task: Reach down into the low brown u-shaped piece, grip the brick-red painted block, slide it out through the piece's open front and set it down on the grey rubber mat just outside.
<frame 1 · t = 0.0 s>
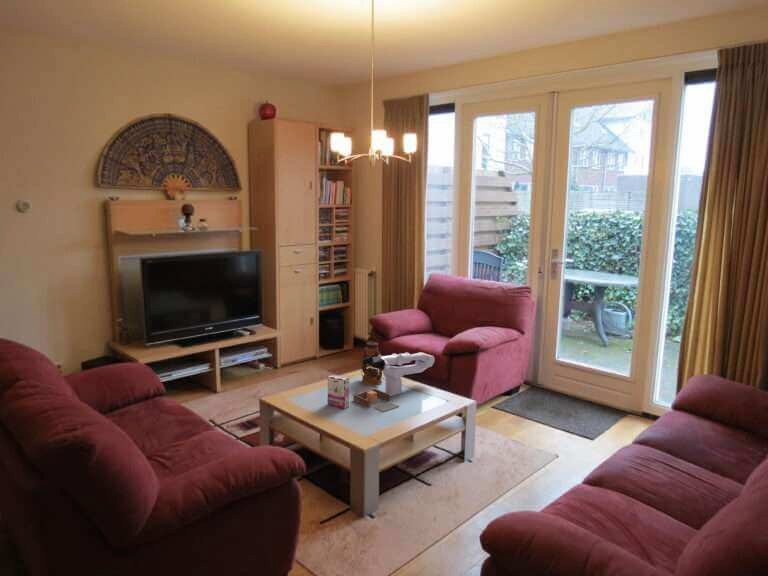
hand: (367, 363, 301), 22 cm above the table, tool horizontal, fingers open, 7 cm apart
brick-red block: (371, 396, 304), in the brown u-shaped piece
candy bar box: (338, 406, 296), on the table
grey mat: (386, 407, 295), on the table
lantern: (371, 382, 334), on the table
brown u-shaped piece: (371, 400, 304), on the table
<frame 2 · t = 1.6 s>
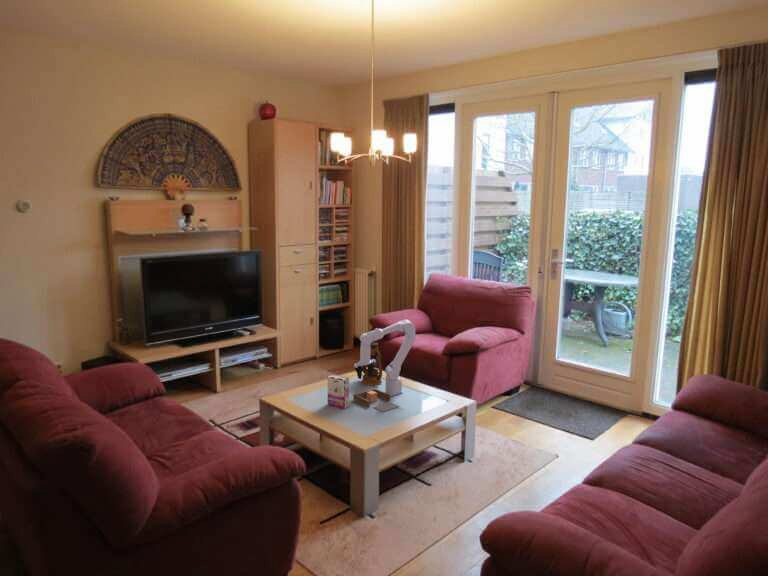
hand: (364, 377, 312), 10 cm above the table, tool pointing down, fingers open, 7 cm apart
nothing on the table moved.
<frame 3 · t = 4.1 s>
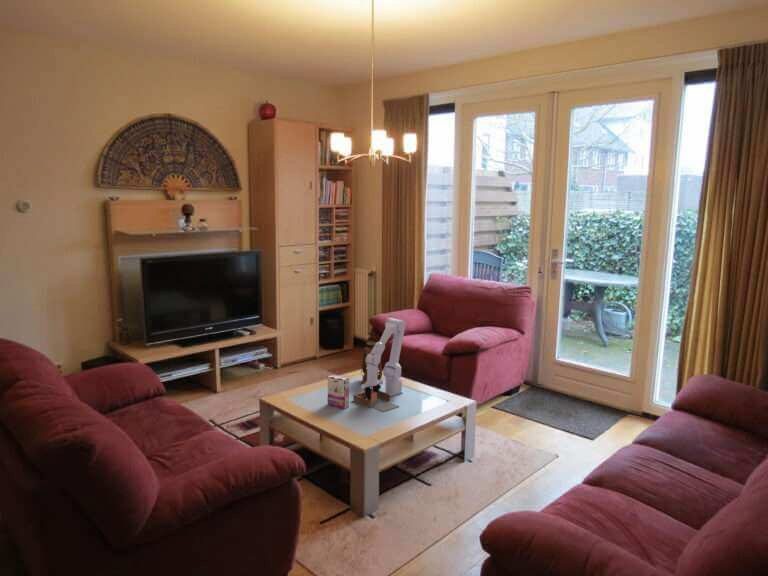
hand: (371, 398, 304), 1 cm above the table, tool pointing down, fingers closed on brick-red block, 4 cm apart
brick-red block: (371, 396, 304), in the brown u-shaped piece, touching gripper
everything else where it was.
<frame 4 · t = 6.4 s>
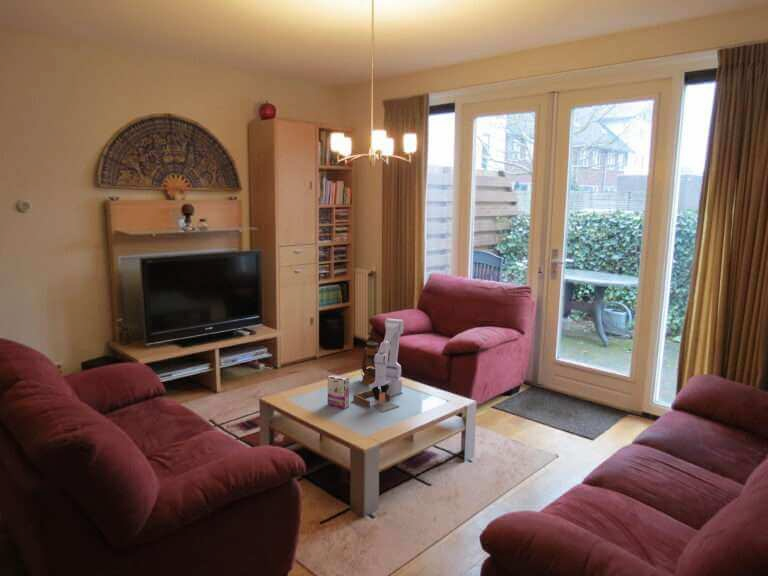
hand: (379, 398, 299), 3 cm above the table, tool pointing down, fingers closed on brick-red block, 4 cm apart
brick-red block: (379, 396, 299), point 4 cm above the table, touching gripper
everything else where it was.
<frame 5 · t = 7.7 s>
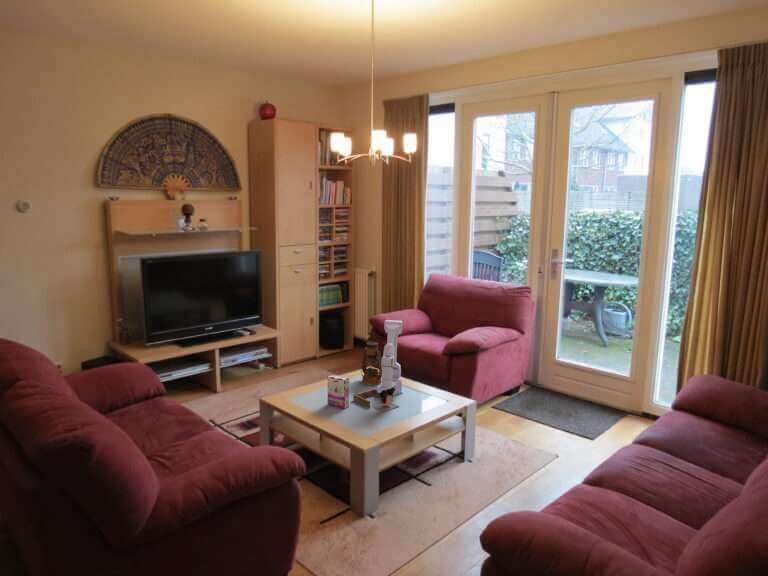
hand: (386, 401, 295), 3 cm above the table, tool pointing down, fingers closed on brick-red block, 4 cm apart
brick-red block: (386, 400, 295), point 4 cm above the table, touching gripper
everything else where it was.
when the fingers open (3 cm above the table, at t = 8.6 s): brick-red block stays where it is, resting on grey mat.
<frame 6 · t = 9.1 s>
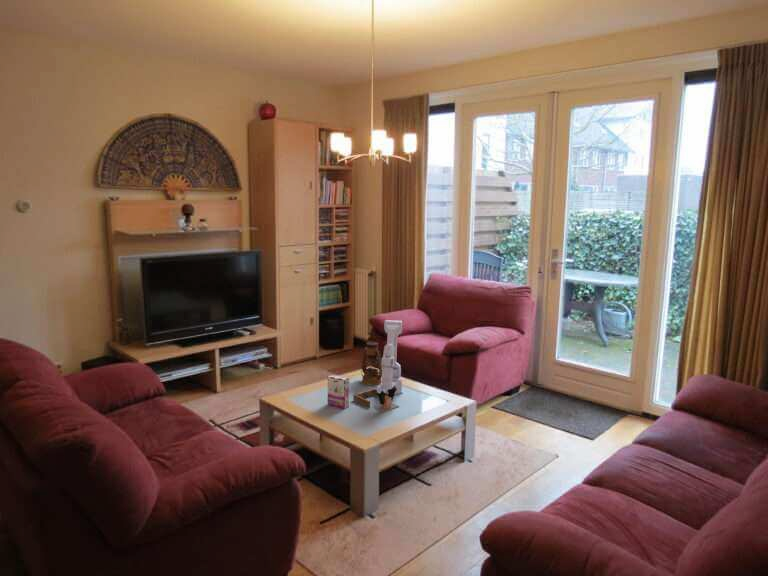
hand: (386, 402, 295), 3 cm above the table, tool pointing down, fingers open, 7 cm apart
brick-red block: (386, 402, 295), on the grey mat
everything else where it was.
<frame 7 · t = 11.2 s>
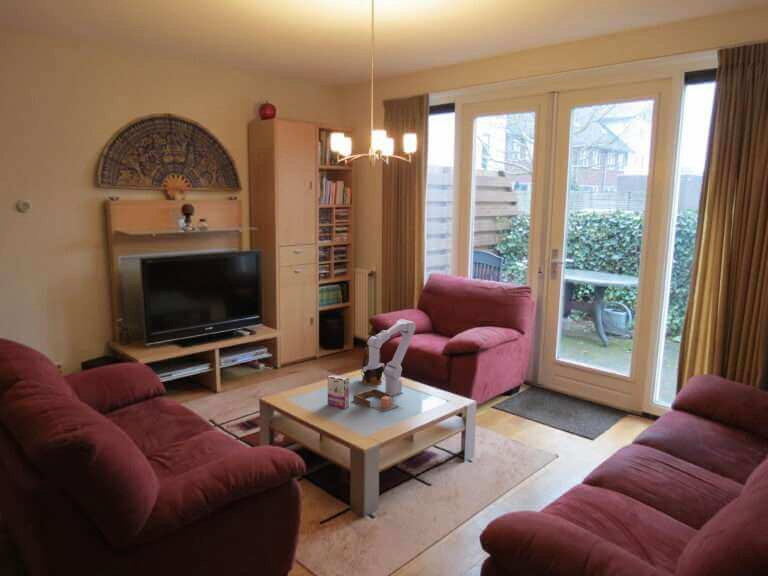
hand: (373, 381, 305), 10 cm above the table, tool pointing down, fingers open, 7 cm apart
nothing on the table moved.
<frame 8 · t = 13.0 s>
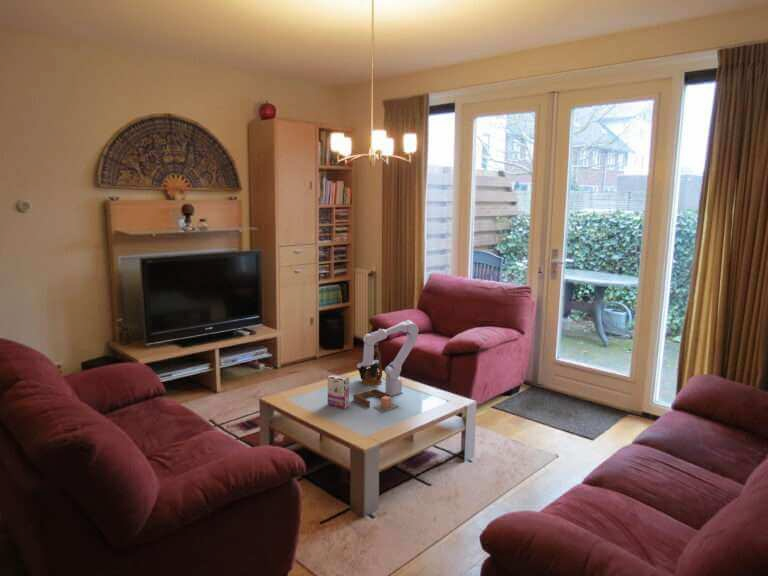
hand: (367, 377, 311), 10 cm above the table, tool pointing down, fingers open, 7 cm apart
nothing on the table moved.
at the end: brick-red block inside the target area (0.3 cm from its centre), point 3.0 cm above the table; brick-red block tilted 0°; the gripper is holding nothing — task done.
